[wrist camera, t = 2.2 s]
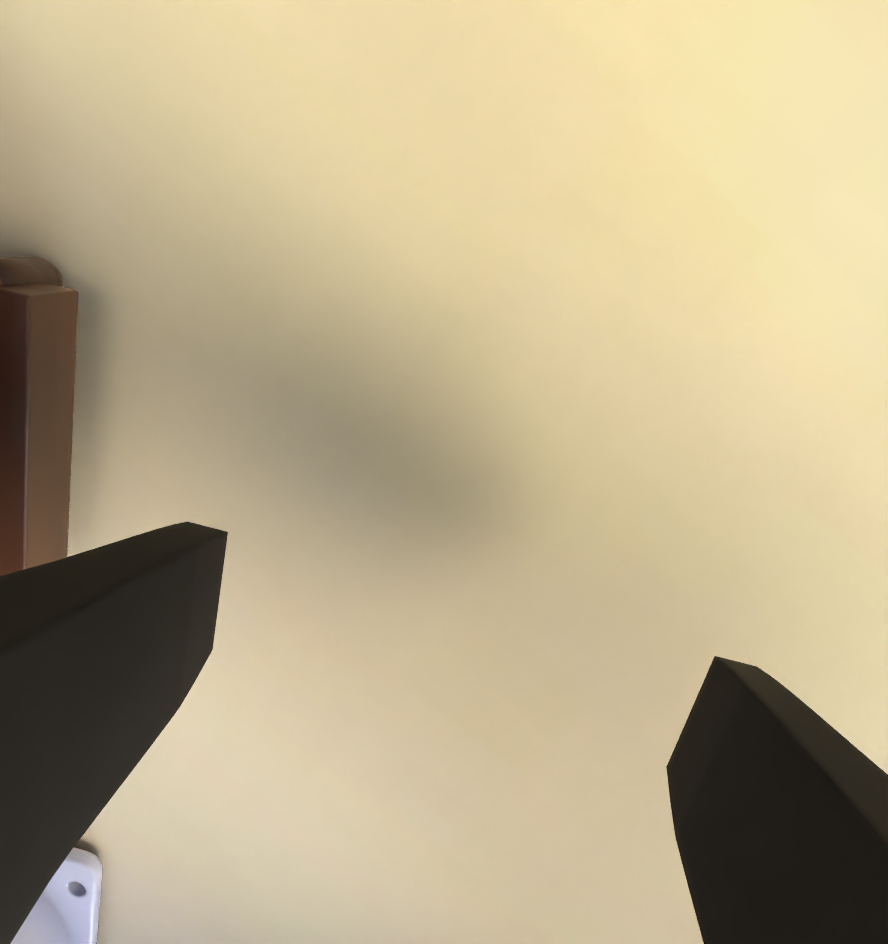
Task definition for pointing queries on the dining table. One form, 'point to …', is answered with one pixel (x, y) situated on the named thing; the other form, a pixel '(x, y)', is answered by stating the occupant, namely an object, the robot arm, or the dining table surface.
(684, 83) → the dining table surface
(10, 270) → the chair
